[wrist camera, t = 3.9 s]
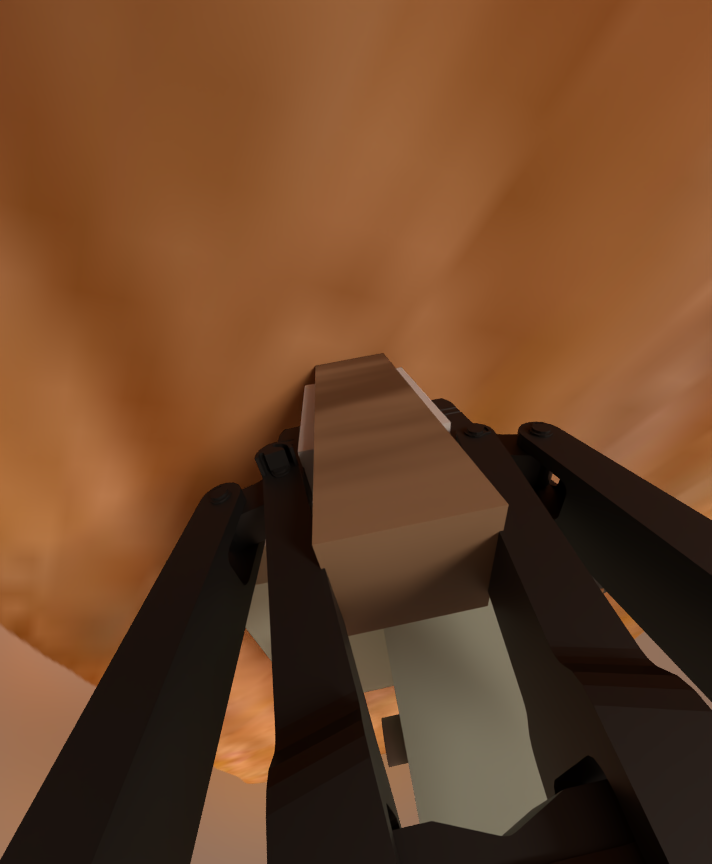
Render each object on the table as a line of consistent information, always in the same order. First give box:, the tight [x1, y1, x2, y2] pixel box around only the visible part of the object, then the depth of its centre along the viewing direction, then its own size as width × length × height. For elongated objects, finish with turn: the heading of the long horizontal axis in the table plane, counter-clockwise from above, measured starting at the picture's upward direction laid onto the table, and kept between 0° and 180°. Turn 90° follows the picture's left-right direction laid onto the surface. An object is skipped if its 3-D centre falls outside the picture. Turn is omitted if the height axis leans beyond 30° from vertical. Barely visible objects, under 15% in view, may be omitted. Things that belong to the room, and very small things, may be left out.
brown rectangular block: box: [312, 353, 509, 636], centre depth 15 cm, size 18×4×12 cm, turn 9°
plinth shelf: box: [245, 546, 547, 836], centre depth 16 cm, size 16×14×16 cm
